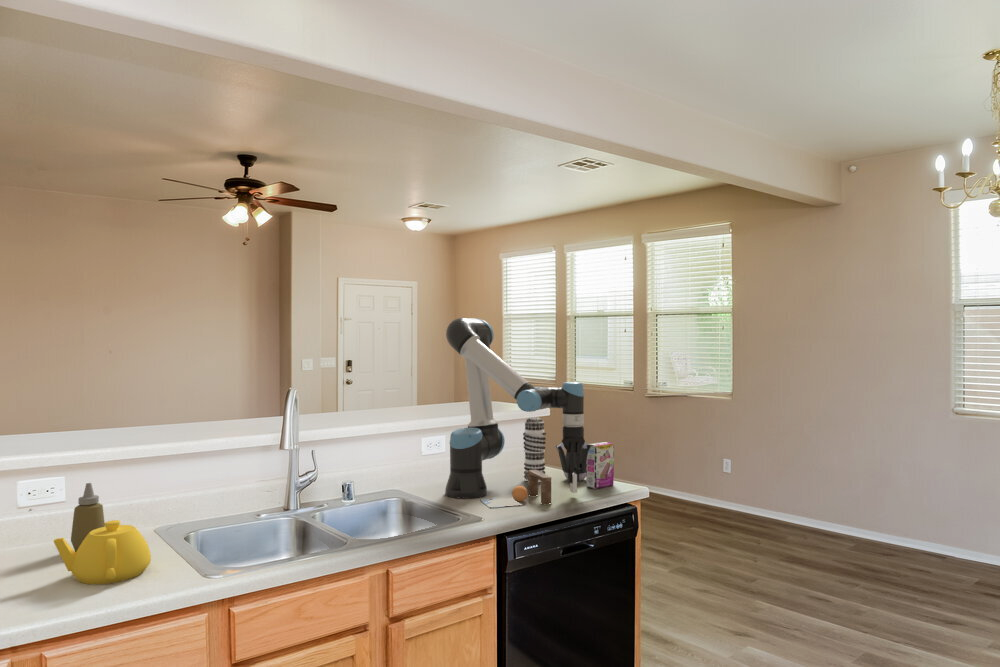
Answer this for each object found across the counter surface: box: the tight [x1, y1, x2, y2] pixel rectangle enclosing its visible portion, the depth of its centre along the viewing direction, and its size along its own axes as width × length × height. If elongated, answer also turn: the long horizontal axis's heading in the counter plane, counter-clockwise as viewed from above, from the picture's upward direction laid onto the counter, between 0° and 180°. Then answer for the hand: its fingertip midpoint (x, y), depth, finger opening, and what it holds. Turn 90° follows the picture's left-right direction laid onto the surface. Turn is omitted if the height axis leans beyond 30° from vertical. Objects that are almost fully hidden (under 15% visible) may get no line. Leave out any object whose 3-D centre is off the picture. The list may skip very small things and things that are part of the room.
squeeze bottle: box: [70, 482, 105, 552], centre depth 179 cm, size 8×8×18 cm
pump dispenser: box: [562, 446, 587, 482], centre depth 269 cm, size 10×10×15 cm
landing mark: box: [480, 498, 501, 507], centre depth 231 cm, size 12×12×1 cm
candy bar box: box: [585, 441, 615, 490], centre depth 257 cm, size 11×5×16 cm, turn 132°
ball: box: [511, 485, 529, 503], centre depth 232 cm, size 6×6×6 cm
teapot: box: [53, 519, 152, 586], centre depth 159 cm, size 20×19×13 cm
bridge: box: [527, 470, 552, 505], centre depth 235 cm, size 3×14×9 cm, turn 18°
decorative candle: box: [522, 416, 547, 482], centre depth 268 cm, size 9×9×25 cm
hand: (573, 491), depth 239 cm, fingers closed
